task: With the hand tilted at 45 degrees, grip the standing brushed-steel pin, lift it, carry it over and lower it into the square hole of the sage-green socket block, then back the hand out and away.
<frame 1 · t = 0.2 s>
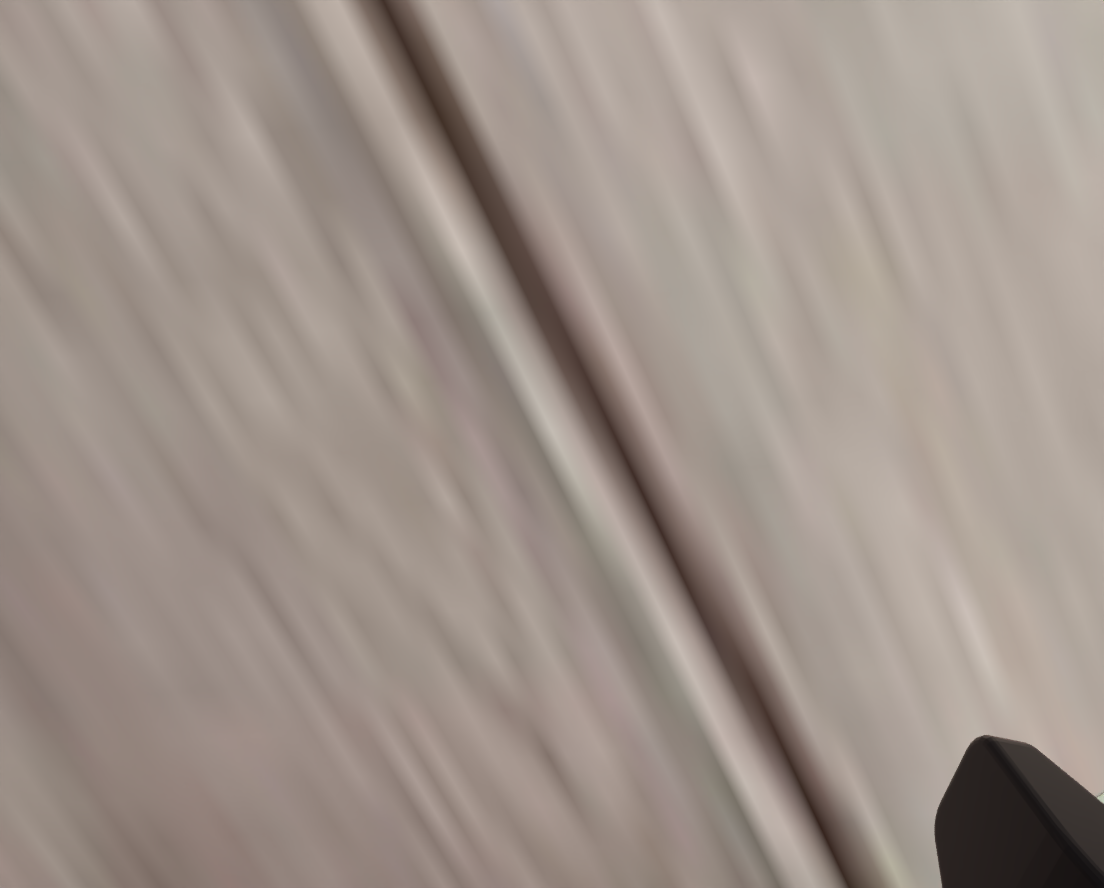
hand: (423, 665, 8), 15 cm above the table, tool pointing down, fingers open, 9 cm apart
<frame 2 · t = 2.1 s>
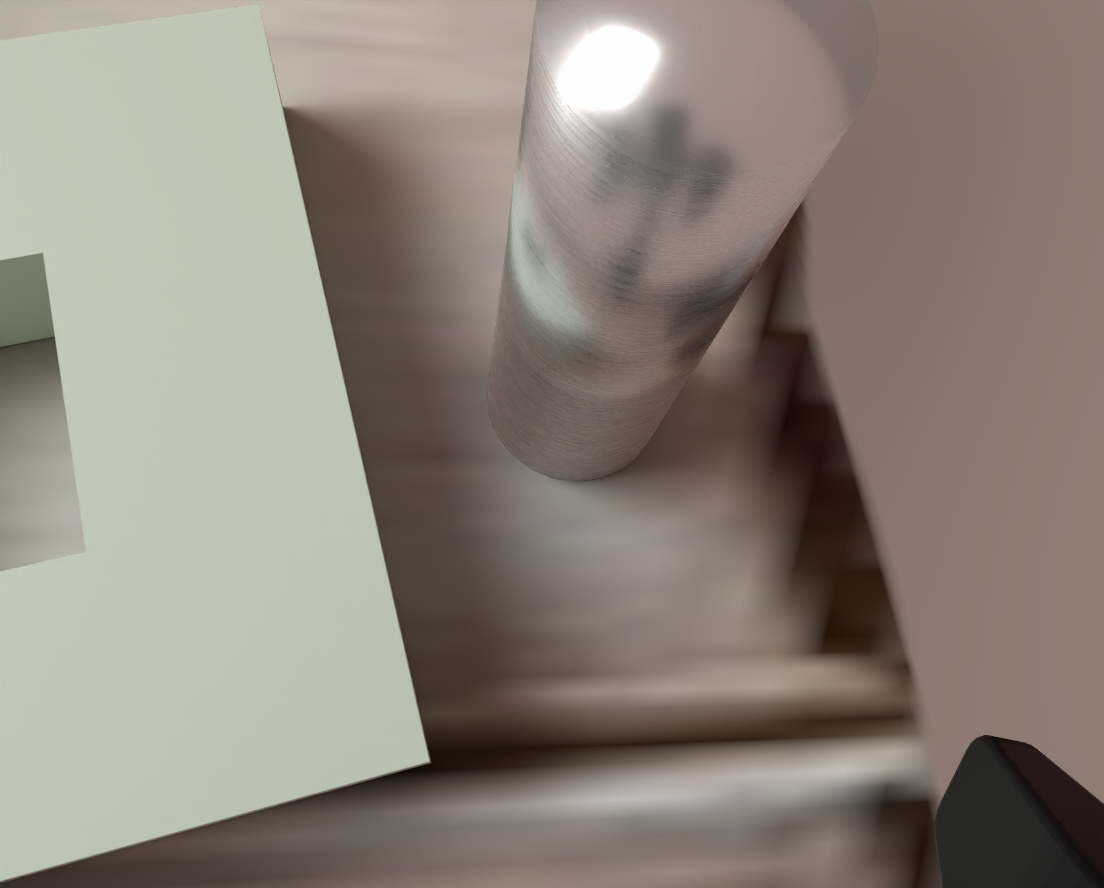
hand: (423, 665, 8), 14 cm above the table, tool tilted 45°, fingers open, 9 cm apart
steel pin: (574, 397, 24), on the table
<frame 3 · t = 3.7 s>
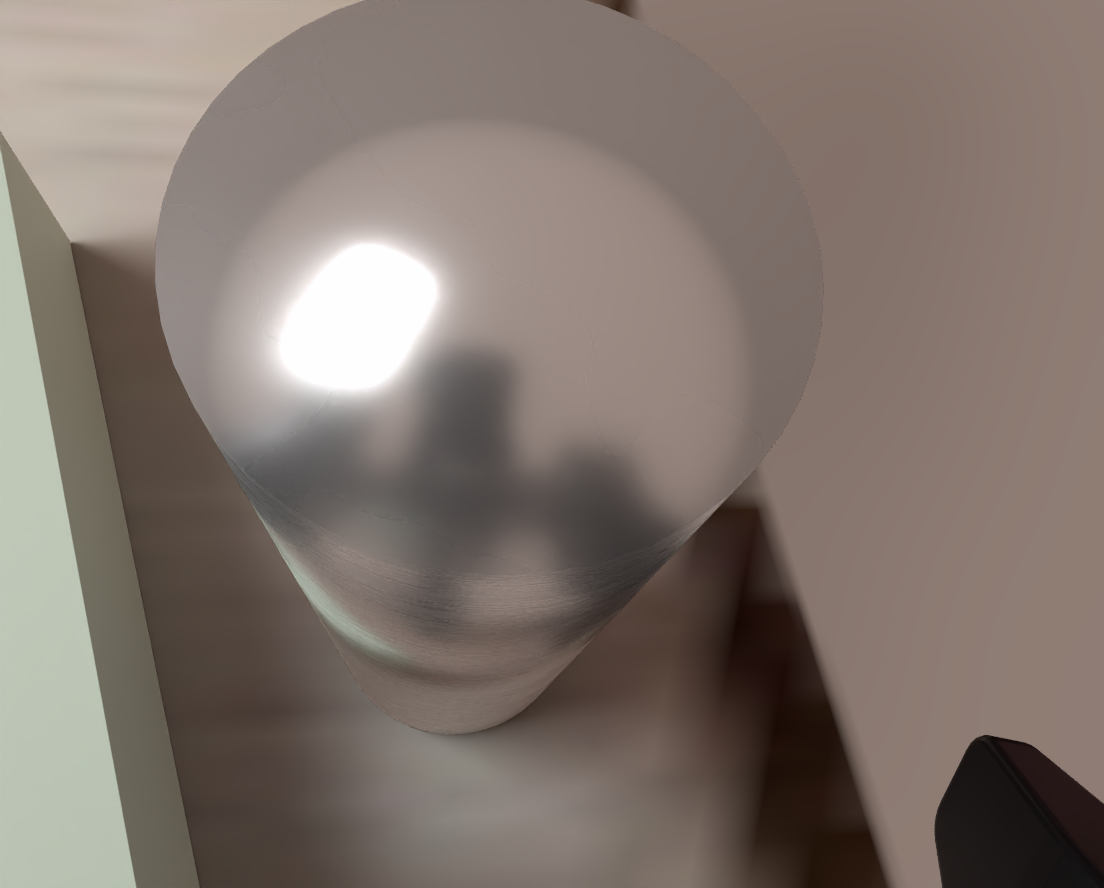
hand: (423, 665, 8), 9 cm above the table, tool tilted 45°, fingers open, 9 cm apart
steel pin: (455, 615, 18), on the table
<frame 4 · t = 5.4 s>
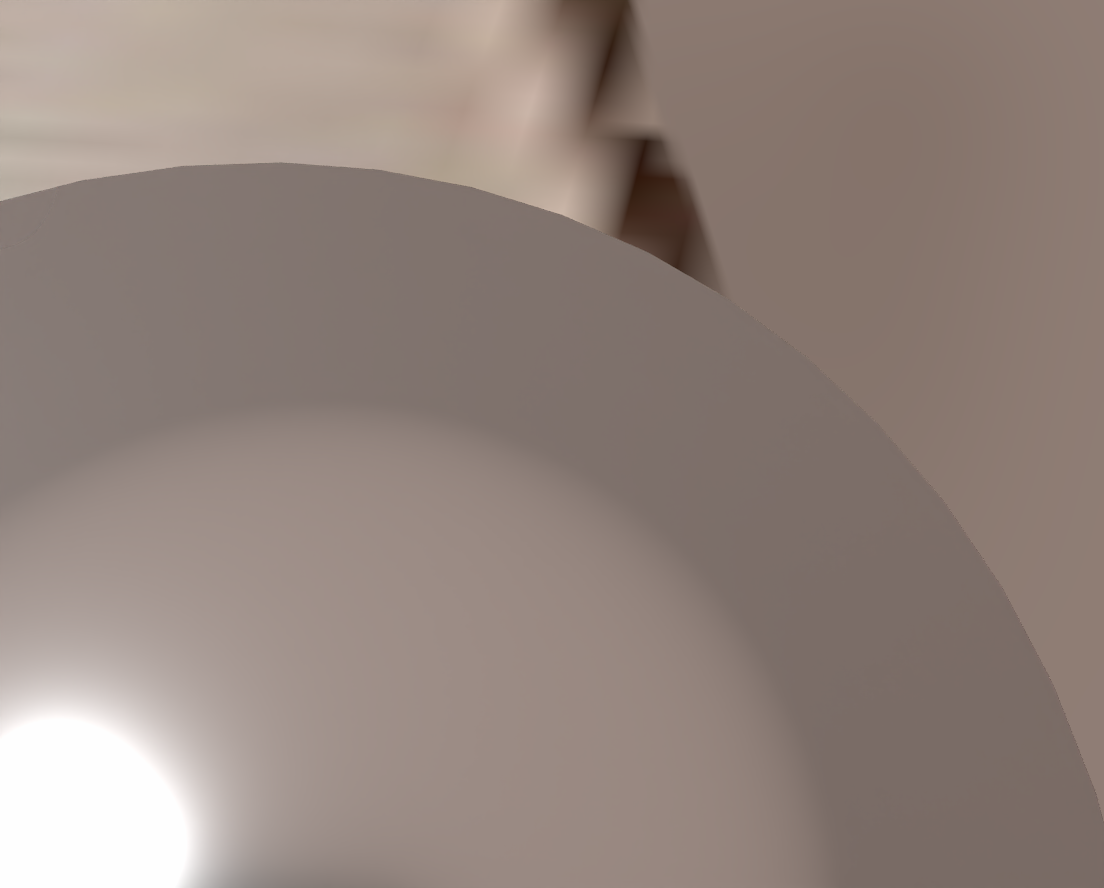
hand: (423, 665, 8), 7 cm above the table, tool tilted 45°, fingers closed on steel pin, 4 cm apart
steel pin: (405, 826, 14), on the table, touching gripper
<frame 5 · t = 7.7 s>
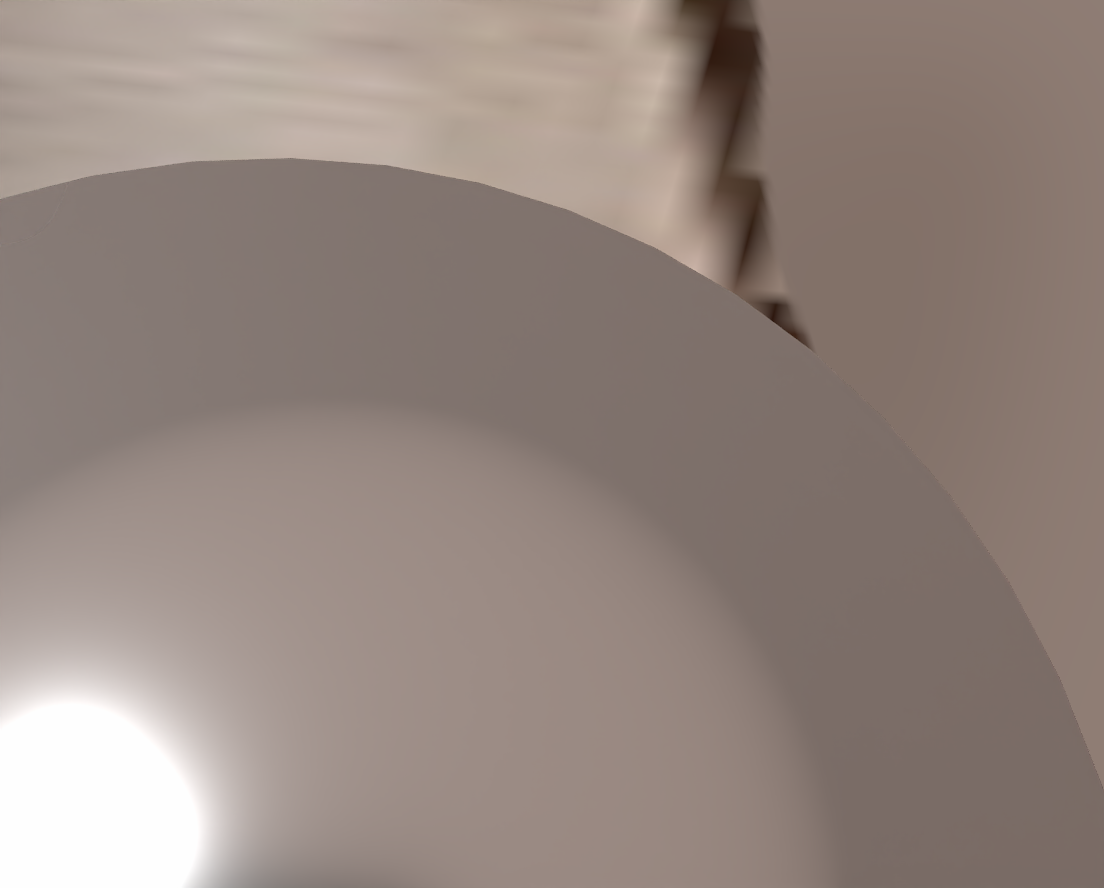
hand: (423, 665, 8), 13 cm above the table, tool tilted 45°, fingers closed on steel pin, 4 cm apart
steel pin: (407, 825, 14), point 7 cm above the table, touching gripper
when the fingers open (8 cm above the table, at t = 10.3 s): steel pin drops 1 cm, resting in socket block.
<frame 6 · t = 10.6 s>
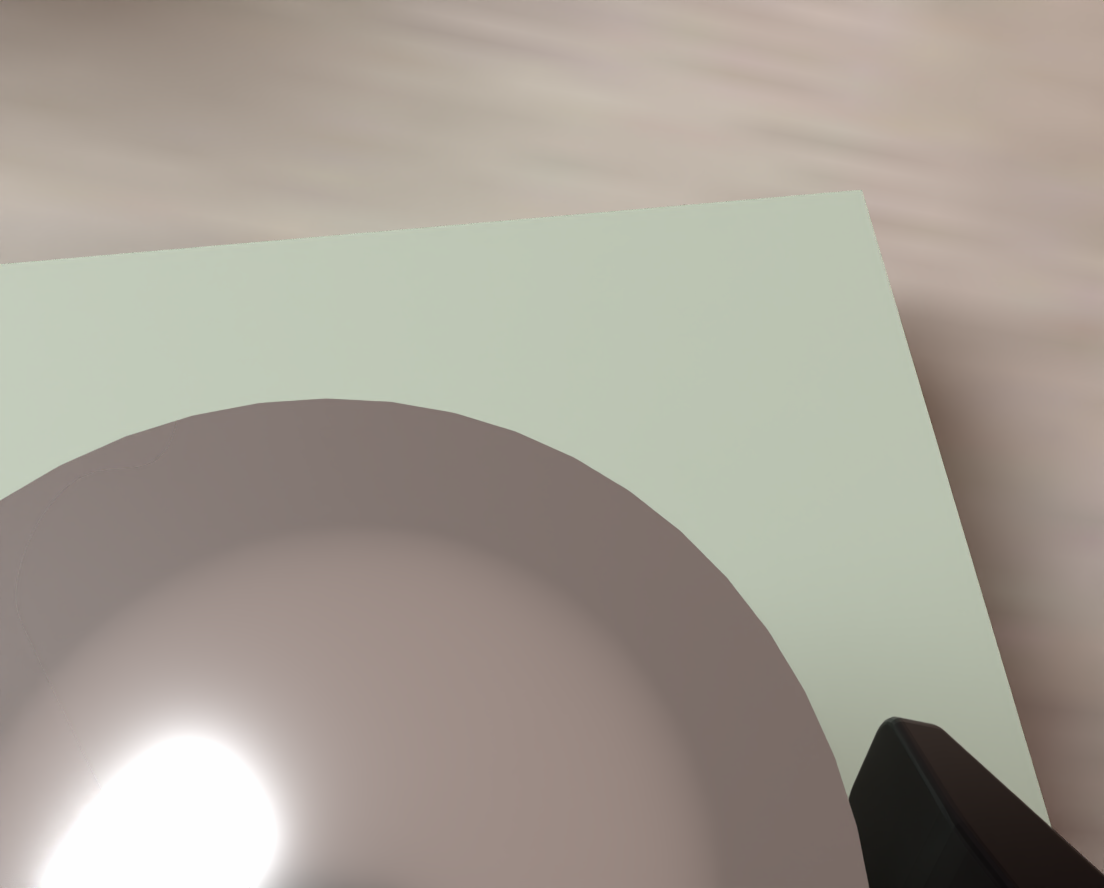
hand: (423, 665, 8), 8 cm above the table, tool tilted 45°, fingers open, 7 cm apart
steel pin: (408, 826, 15), resting in socket block
socket block: (407, 823, 15), on the table
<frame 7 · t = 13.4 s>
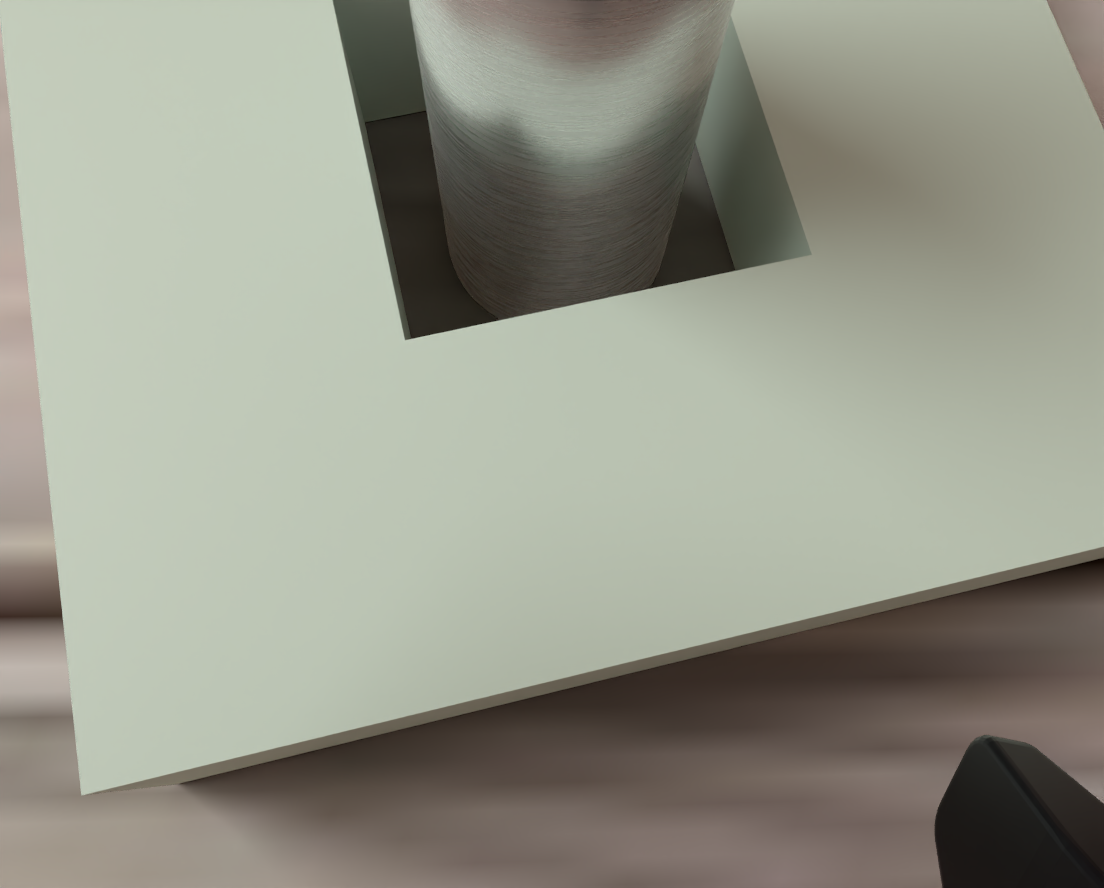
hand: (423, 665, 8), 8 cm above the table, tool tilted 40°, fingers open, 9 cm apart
steel pin: (556, 232, 19), resting in socket block
socket block: (556, 230, 19), on the table
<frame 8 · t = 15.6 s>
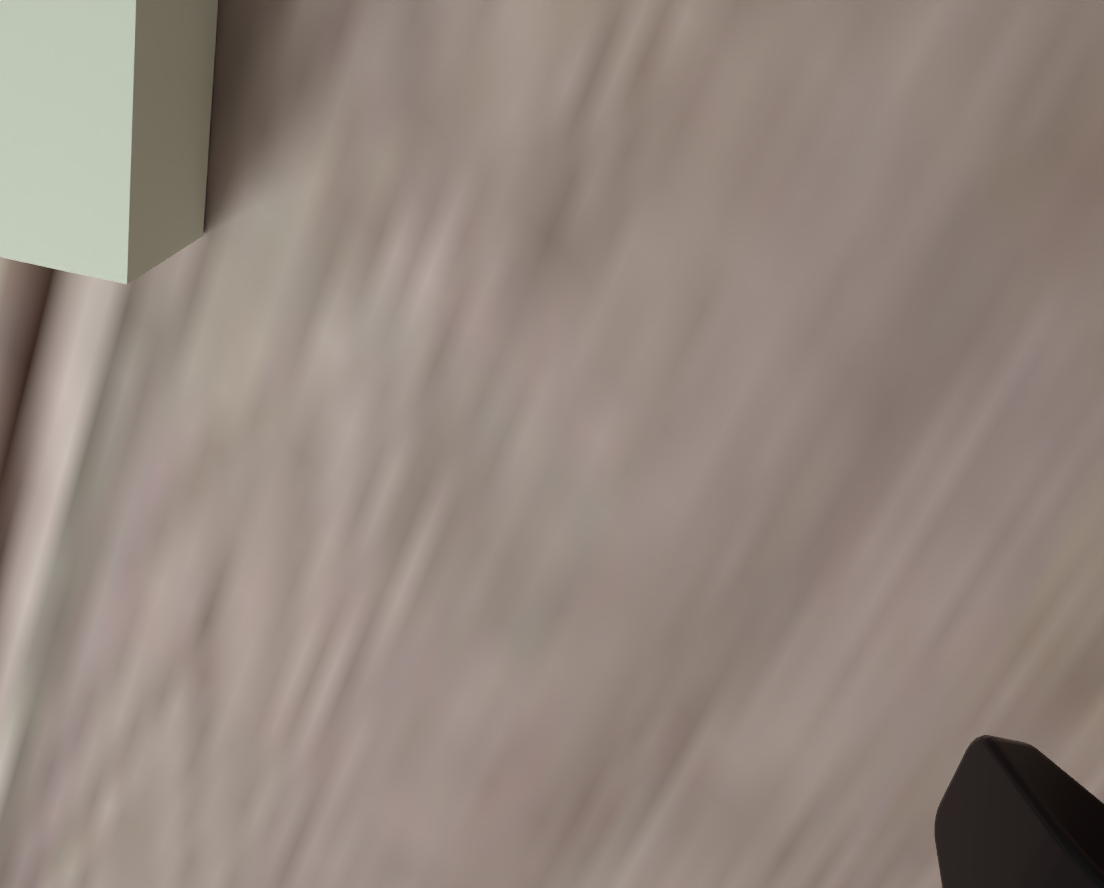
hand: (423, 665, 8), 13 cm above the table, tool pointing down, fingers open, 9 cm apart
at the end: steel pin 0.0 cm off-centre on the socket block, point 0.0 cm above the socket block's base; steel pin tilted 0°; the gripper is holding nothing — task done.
